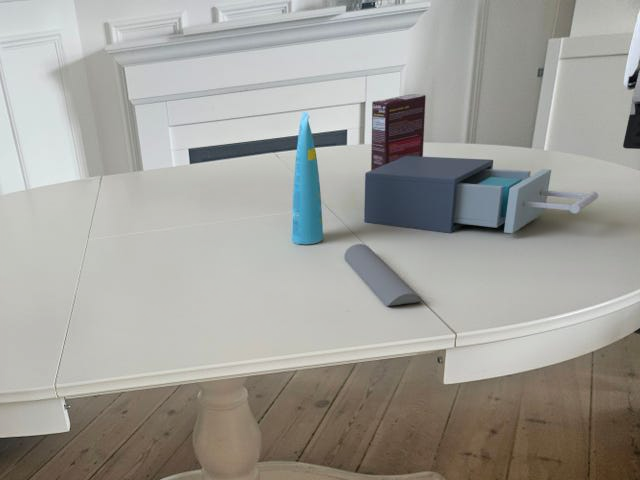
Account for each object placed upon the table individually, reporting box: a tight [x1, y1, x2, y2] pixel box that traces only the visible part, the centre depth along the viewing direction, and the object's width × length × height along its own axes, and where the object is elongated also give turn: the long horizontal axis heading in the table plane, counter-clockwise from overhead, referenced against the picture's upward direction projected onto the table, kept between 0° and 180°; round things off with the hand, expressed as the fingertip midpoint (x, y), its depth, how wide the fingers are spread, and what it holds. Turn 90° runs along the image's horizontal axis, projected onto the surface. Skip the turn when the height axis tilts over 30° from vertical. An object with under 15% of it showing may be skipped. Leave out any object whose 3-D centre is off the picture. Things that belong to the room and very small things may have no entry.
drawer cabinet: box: [363, 156, 494, 234], centre depth 101 cm, size 15×13×8 cm
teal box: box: [478, 177, 522, 217], centre depth 94 cm, size 4×4×4 cm
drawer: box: [454, 168, 599, 234], centre depth 93 cm, size 21×11×6 cm, turn 42°
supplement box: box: [370, 93, 427, 171], centre depth 119 cm, size 9×5×16 cm, turn 108°
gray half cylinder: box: [344, 243, 423, 307], centre depth 82 cm, size 4×20×2 cm, turn 1°
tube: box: [291, 109, 324, 245], centre depth 96 cm, size 7×5×19 cm, turn 179°
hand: (639, 147), depth 79 cm, fingers closed
